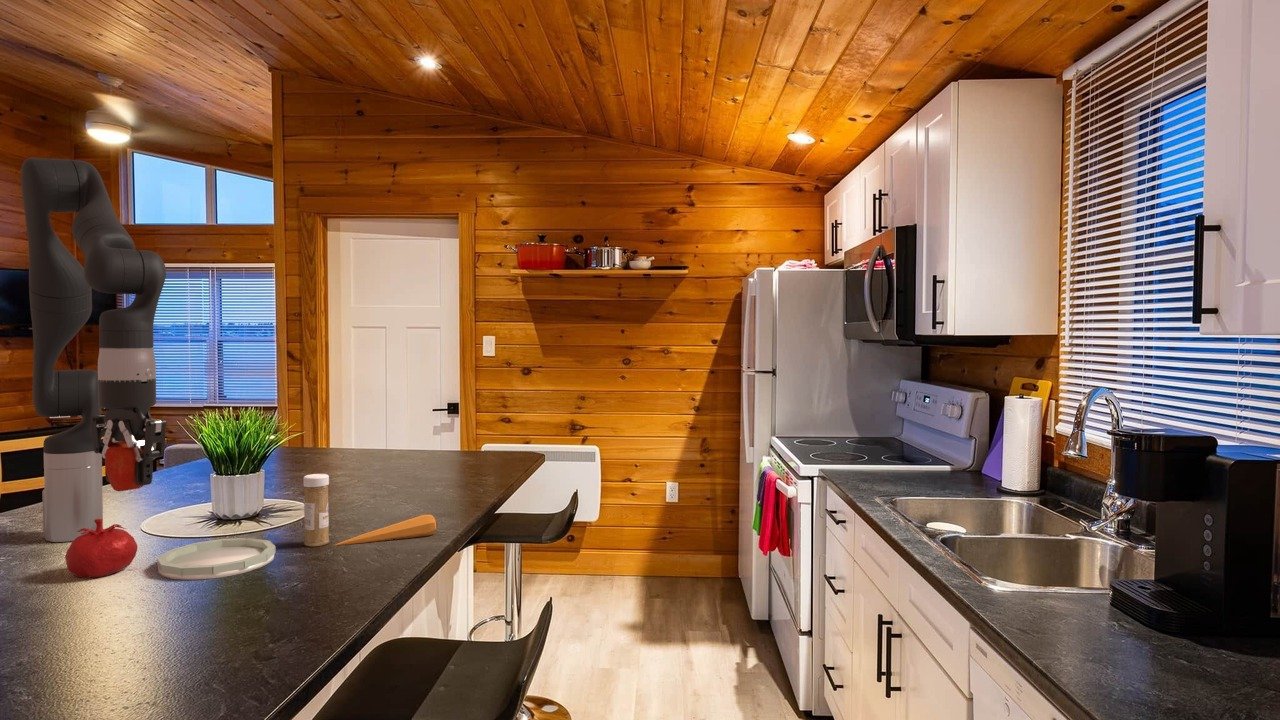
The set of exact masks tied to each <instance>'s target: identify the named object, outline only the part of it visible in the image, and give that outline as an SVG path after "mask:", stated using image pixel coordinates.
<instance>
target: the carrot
mask: <svg viewBox="0 0 1280 720" xmlns="http://www.w3.org/2000/svg"><path fill="white" fill-rule="evenodd" d="M437 528H438V521H437V518H435V517H434V516H433V515H432V514H421V515H418V516H415V517H412V518H409V519H406V520H403V521H400V522H396V523H393V524H391V525H388V526H384V527H381V528H378V529H375V530H374V529H373V530H372V531H368V532H365V533H363V534H360V535H357V536H355V537H352V538H348V539H346V540H343V541H341V542H338V543H336V544H333V545H332V546H346V545H356V544H365V543H367V544H368V543H375V542H376V543H377V542H382V541H383V542H386V541H392V540H393V539H395V540H401V539H402V540H403V538H404V539H410V538H411V539H412V538H420V537H428V536H429V537H430V536H432V535H434V534H435V533H436V529H437ZM385 540H386V541H385ZM393 541H394V540H393Z"/></svg>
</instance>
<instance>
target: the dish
mask: <svg viewBox="0 0 1280 720" xmlns="http://www.w3.org/2000/svg"><path fill="white" fill-rule="evenodd" d="M276 550H277V549H276V545H275V544H274V543H273V542H271V541H270V540H269V539H267V540H266V539H258V538H253V537H238V538H237V537H236V538H234V537H233V538H219V539H212V540H205V541H200V542H193V543H189V544H186V545H183V546H179V547H175V548H173V549H169V550H168V551H165V552H164V553H163V554H161V555H159V556H158V557H157V558H156V561H157V562H156V565H157V571H158V574H159V575H160V576H161V577H164V578H167V579H171V580H173V579H174V580H182V581H183V580H184V581H185V580H186V581H190V580H191V581H194V580H196V581H197V580H212V579H219V578H225V577H231V576H237V575H241V574H244V573H248V572H252V571H255V570H258V569H260V568H263V567H265V566H267V565H269V564H271V562H273V560H274V559H275V554H276V552H277V551H276Z"/></svg>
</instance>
